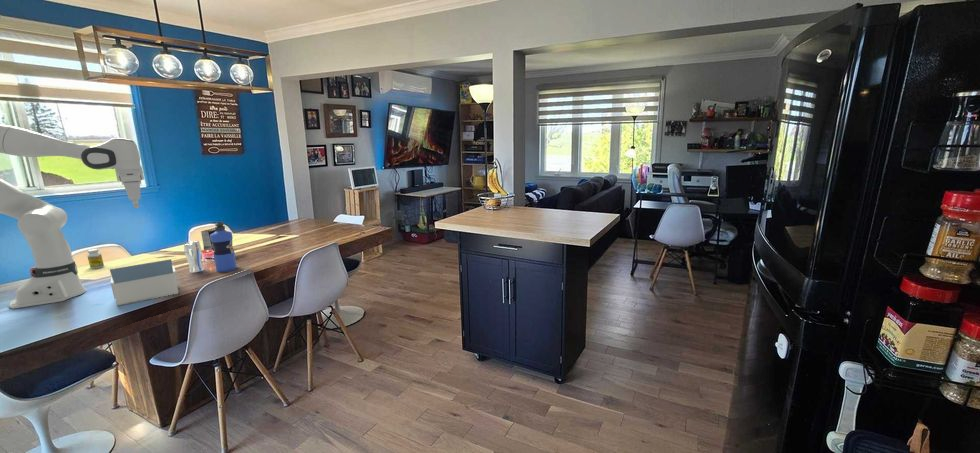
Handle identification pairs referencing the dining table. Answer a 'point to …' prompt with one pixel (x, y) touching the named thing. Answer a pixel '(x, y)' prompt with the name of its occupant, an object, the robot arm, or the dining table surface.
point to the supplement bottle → (95, 258)
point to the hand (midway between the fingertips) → (136, 207)
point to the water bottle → (223, 249)
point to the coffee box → (207, 239)
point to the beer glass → (193, 256)
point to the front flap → (141, 271)
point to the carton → (145, 288)
